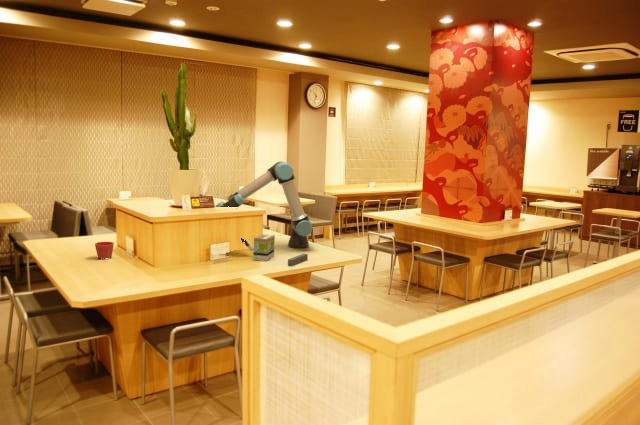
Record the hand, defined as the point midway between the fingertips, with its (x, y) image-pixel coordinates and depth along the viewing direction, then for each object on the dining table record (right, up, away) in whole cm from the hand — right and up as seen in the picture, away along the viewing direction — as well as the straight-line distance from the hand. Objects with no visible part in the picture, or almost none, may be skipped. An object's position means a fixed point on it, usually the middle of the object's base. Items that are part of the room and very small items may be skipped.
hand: (252, 249), depth 333 cm
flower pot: (-92, -5, -13) cm, 93 cm away
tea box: (+8, -6, -3) cm, 10 cm away
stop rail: (+31, -8, -13) cm, 35 cm away
